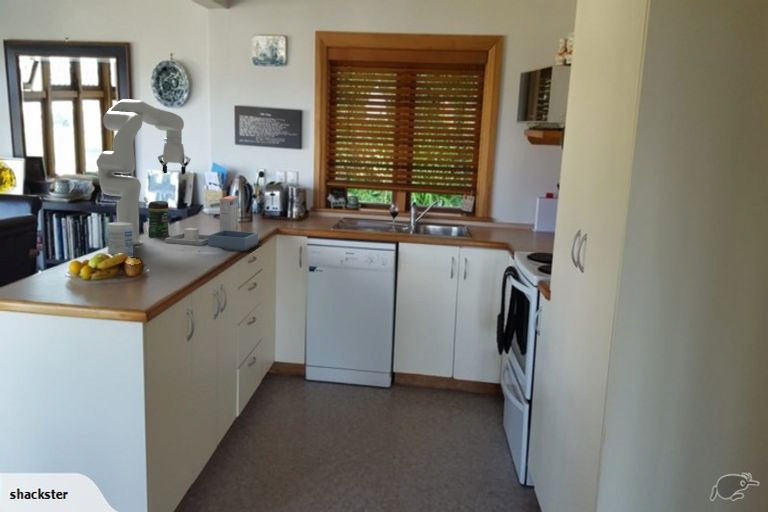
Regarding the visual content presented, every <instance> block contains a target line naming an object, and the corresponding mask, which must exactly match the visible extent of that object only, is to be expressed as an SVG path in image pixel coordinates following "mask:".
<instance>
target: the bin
mask: <svg viewBox="0 0 768 512" xmlns="http://www.w3.org/2000/svg"><path fill="white" fill-rule="evenodd" d="M207 235H208V243H207V244H208V247H215V248H221V250H226V251H227V250H229V251H239V252H246V251H248V250H251V249H253V248H255V247H257V246H258V245H259V233H258V232H253V231H252V232H250V231H239V230H238V231H228V230H222V231H220V230H219V231H217V232H214V233H212V234H207Z"/></svg>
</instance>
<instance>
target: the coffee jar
mask: <svg viewBox="0 0 768 512" xmlns="http://www.w3.org/2000/svg"><path fill="white" fill-rule="evenodd" d="M169 209H170V208H169V202H168V201H167V200H155V201H154V200H153V201H150V202H149V203H148V212H149V217H148V218H149V221H148V234H147V235H148V238H150V239H154V238H155V239H159V238H165V237H166V238H167V237H170V232H169V219H168V217H169V216H168V215H169V211H170V210H169Z"/></svg>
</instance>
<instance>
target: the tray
mask: <svg viewBox="0 0 768 512" xmlns="http://www.w3.org/2000/svg"><path fill="white" fill-rule="evenodd" d="M208 235H209V234H200V233H199V241H194V240H184V232H181V233H177V234H175V235H171V236H167V237H166V238H165V237H164V242H165V243H166V244H174V245H176V244H177V245H187V246H189V245H190V246H201V247H202V246H205V245H207V244H208Z"/></svg>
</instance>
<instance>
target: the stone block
mask: <svg viewBox="0 0 768 512" xmlns="http://www.w3.org/2000/svg"><path fill="white" fill-rule="evenodd" d="M199 231H200V229H199V228H196V227H195V228H193V227H188V228H184V231H183V233H184V240H194V241H199V234H200V232H199Z"/></svg>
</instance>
